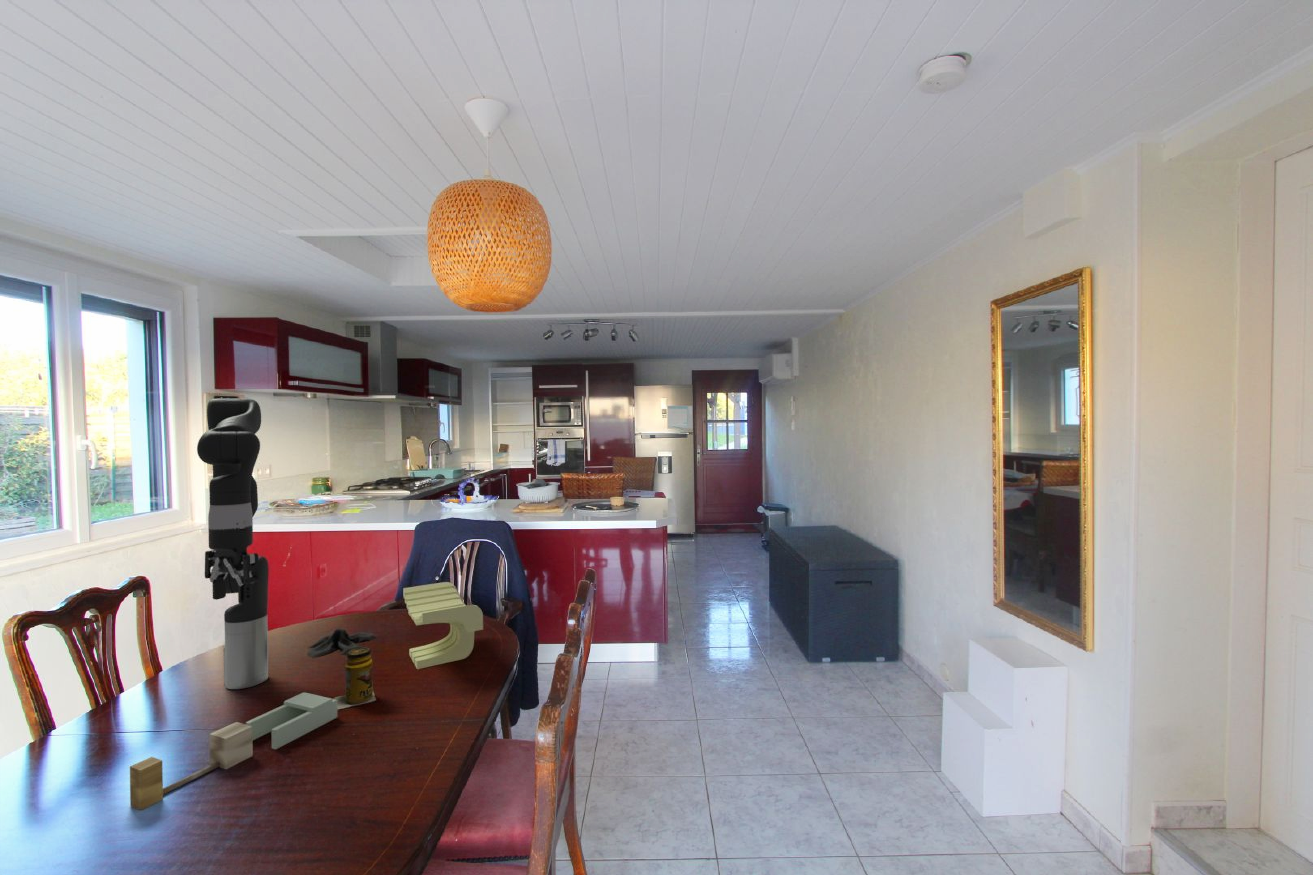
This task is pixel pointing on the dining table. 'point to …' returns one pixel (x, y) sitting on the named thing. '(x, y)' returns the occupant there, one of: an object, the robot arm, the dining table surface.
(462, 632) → the slatted curved stool
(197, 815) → the dining table surface
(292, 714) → the u-shaped sage bracket
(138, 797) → the tethered block
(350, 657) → the condiment
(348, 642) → the cloth
